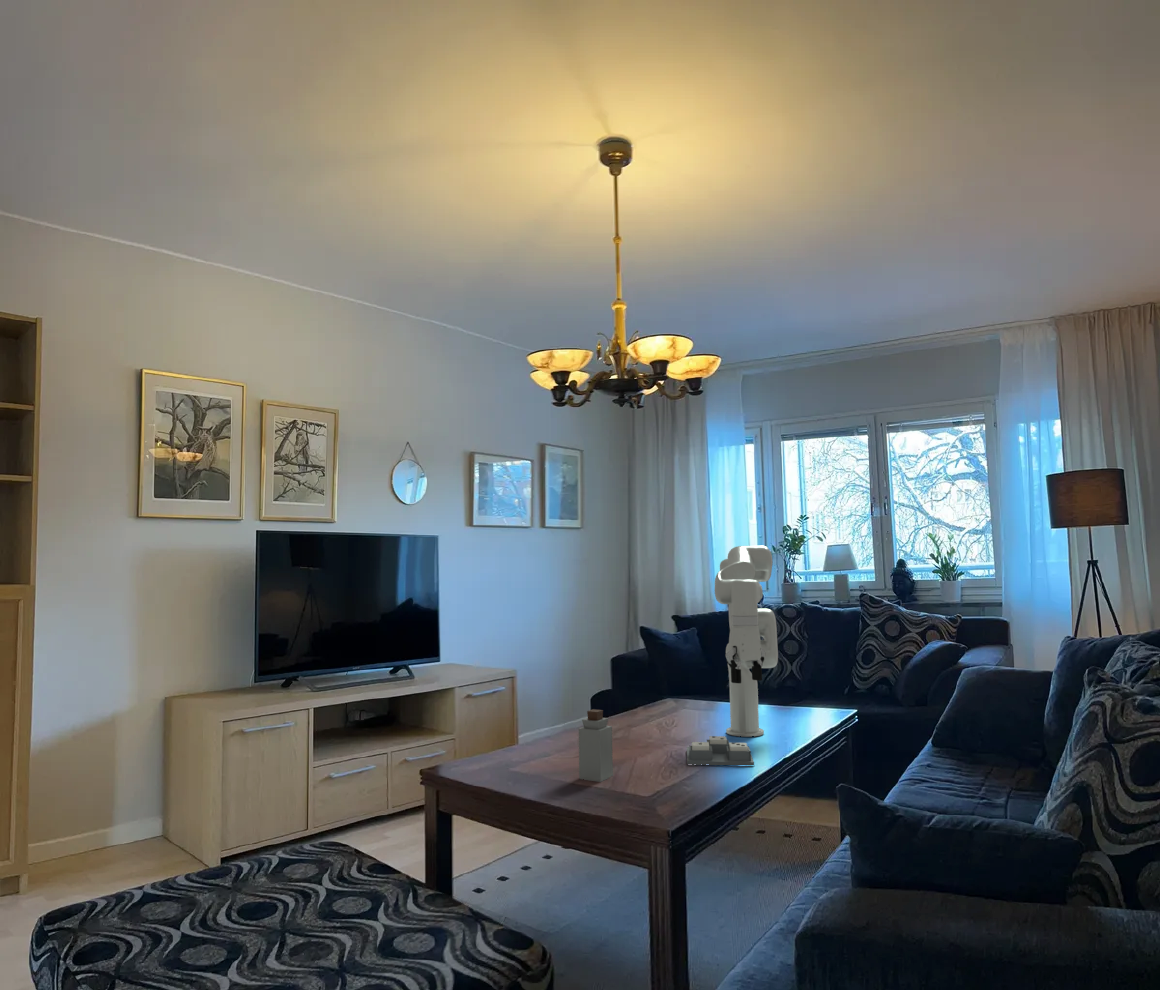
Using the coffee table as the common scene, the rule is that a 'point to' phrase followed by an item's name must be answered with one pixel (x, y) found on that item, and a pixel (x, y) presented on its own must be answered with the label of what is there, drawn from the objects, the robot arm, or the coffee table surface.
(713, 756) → the button board
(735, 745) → the button three
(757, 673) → the robot arm
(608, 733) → the perfume bottle
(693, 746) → the button one
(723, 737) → the button two
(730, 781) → the coffee table surface
